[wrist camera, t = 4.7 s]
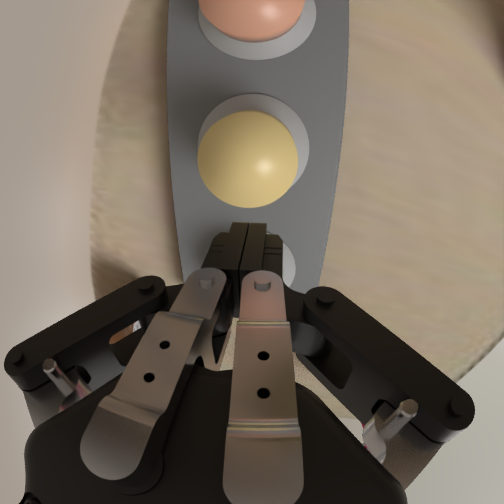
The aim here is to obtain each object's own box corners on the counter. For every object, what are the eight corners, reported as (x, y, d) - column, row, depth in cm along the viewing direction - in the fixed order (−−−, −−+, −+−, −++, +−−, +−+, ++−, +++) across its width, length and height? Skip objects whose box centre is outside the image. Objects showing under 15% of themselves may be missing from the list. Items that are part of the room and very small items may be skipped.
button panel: (340, -24, 12) (348, -36, 9) (309, 297, 28) (311, 316, 26) (182, -25, 12) (171, -36, 10) (193, 288, 29) (187, 306, 26)
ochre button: (298, 112, 15) (301, 115, 13) (292, 196, 18) (293, 210, 16) (206, 109, 16) (196, 112, 14) (208, 191, 19) (199, 205, 17)
